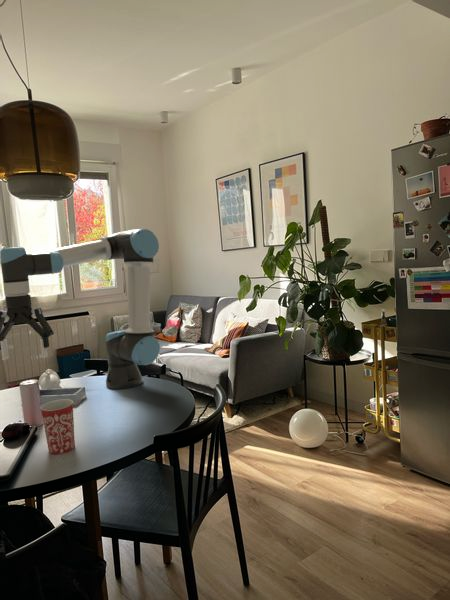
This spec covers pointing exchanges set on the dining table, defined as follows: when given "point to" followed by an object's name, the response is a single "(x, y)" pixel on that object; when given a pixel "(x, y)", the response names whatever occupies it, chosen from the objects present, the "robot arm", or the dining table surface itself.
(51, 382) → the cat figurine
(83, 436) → the dining table surface
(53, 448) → the mug
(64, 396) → the grey shallow rectangular tray
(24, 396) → the beverage can
